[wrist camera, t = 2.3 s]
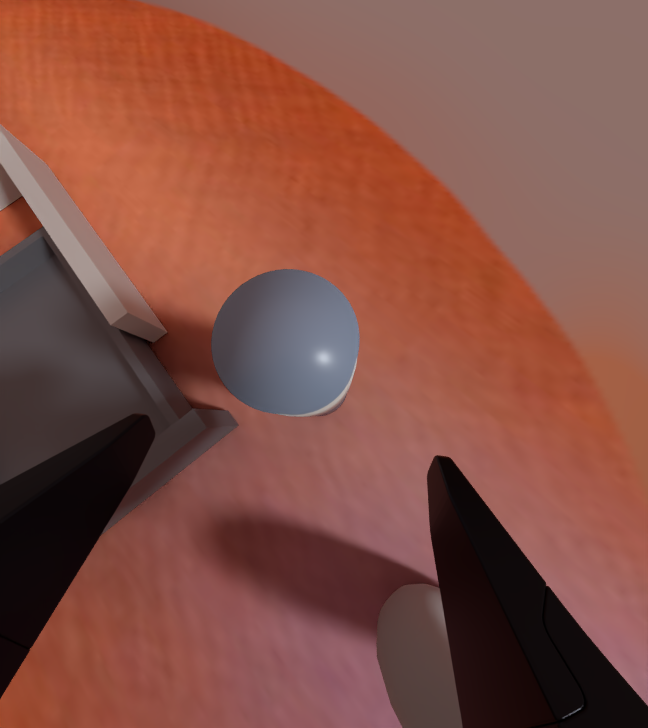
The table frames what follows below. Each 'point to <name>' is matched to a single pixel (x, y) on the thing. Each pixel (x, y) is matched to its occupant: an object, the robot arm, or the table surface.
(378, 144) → the table surface
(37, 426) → the tray
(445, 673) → the donut
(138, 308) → the dock
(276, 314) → the canister
